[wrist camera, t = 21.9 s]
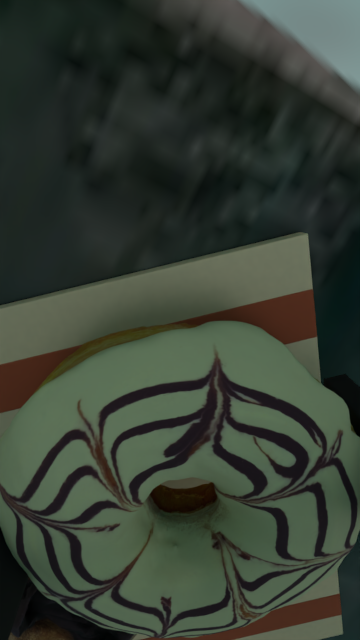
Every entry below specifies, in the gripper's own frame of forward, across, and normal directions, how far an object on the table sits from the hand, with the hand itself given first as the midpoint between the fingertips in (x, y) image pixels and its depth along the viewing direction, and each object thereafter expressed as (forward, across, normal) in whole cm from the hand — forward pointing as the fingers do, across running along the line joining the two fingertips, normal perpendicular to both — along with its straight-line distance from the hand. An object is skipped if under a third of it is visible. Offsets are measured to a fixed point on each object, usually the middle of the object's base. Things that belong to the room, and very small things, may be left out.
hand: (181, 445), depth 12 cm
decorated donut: (0, 0, 0) cm, 0 cm away
